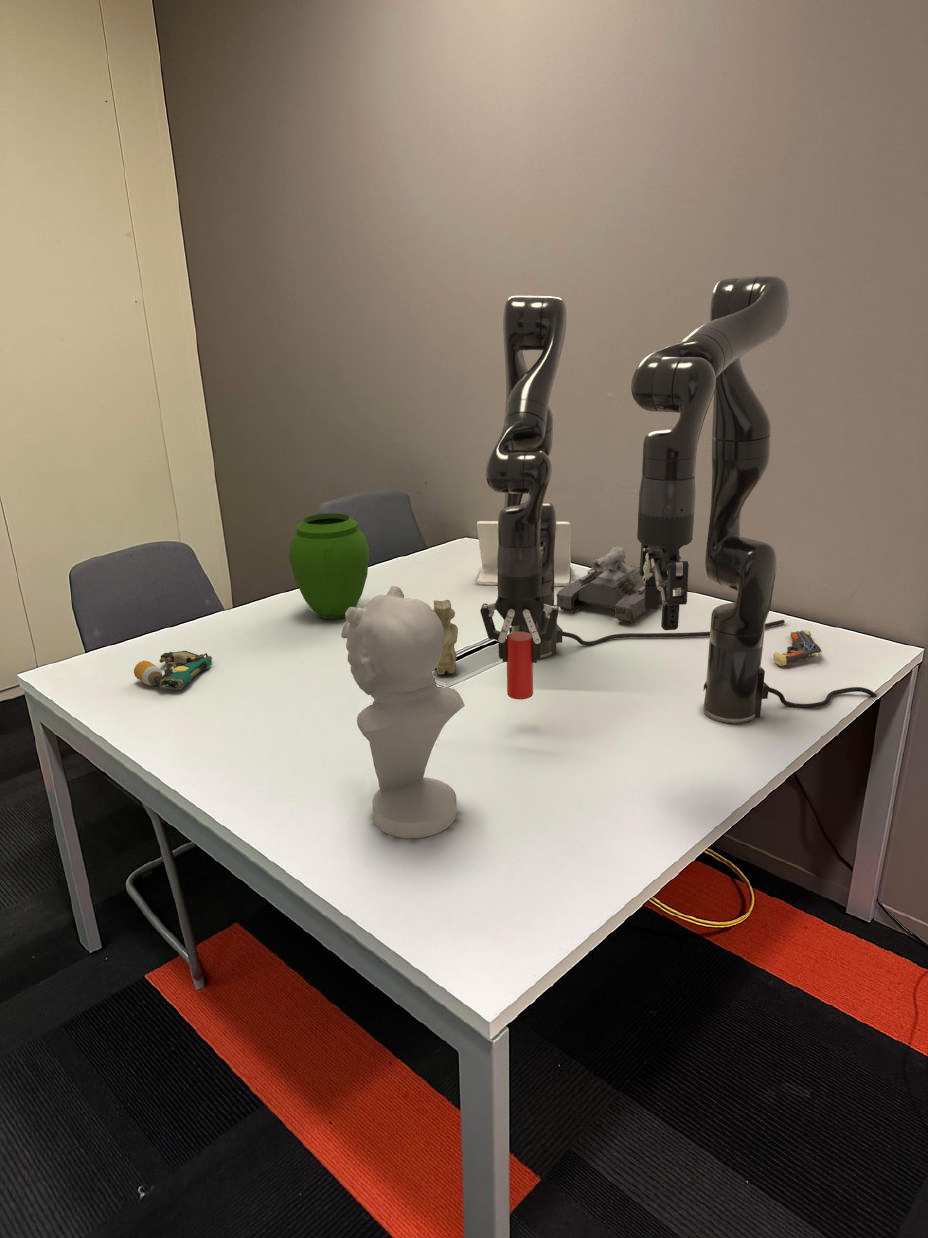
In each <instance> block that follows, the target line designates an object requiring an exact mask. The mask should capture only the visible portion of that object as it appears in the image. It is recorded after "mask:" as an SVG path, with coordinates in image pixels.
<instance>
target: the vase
mask: <svg viewBox="0 0 928 1238" xmlns="http://www.w3.org/2000/svg"><path fill="white" fill-rule="evenodd" d="M358 524H359V523H358V521H356V520H355V519H353V518H352V517H350V516H349V515H347V514H344V513H335V512H334V513H333V512H331V513H320V514H313V515H310V516H307V517H305V518H303V519H302V520H301V521H300V522H299V523H298V524H297V525H296V526H295V532H296V533H295V534H294V536H293V537H292V538H291V540H290V542H289V551H288V559H289V564H290V566H291V567H290V568H291V570H292V575H293V578H294V581H295V584H296V586H297V587H298V589H299V591H300V593H301V596H302V597H303V600H304V601H305V603H306V604H307V605H308V607H309V608H310V609H311V611H312V612H314V613H315V614H316V615H317V616H318V617H320V618H324V619H326V620H327V619H329V620H336V619H341V618H346V616H345V613H346V611H347V609H348V608H349V607H355V608H357V605H358V604H359V601H360V599H361V597H362V595H363V592H364V588H365V586H366V581H367V578H368V570H369V561H370V560H369V559H370V548H369V545H368V541H367V537H366V535H365V534H364V533H363V532H362V531H361V530H360V529H359V527H358Z"/></svg>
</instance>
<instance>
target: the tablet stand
mask: <svg viewBox="0 0 928 1238" xmlns="http://www.w3.org/2000/svg"><path fill="white" fill-rule="evenodd" d="M476 531H477V537H478V544H479V551H480V557H481V558H480V559H481V570H480V573H479V575H478V577H477V580H476V581H477V582H476V584H478V585H484V586H485V585H486V586H487V585H489V586H490V585H491V586H498V576H497V554H498V520H477V522H476ZM571 560H572V558H571V522H569V521H556V536H555V552H554V587H556V586H557V587H566V586H567V585H569V584H570V580H571V579H570V578H571V565H572V564H571Z"/></svg>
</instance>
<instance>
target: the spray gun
mask: <svg viewBox="0 0 928 1238" xmlns="http://www.w3.org/2000/svg"><path fill="white" fill-rule="evenodd" d="M212 660H213V657H212V656H211V655H208V653H207V652H205V653H201V654H197V653H194V652H192V651H191V652H190V651H188V650H180V651H169V652H164V653H162V654H161V655H160V658H159V660H158V662H159V663H161V664H163V663H165V664H166V668H165V670H163V672H164V674H163V673H162V669H160V668H159V666H157V665H156V664H154V663H152V662H151V661H149V660H141V661H139V662H138V663H136V665H135V666H134V668H133V675H134V677H135V678H136V679H137V680H139V681H140V682H142V683H143V684H145V685H147V686H155V685H157V686H158V687H160V688H161V689H171V690H172V689H173V690H182V689H184V687H185V686H186V685H188V684H189V683H190V682H191V681H192V679H193V678H195V677H196V676H197V675H198V674H200V673H201V672H202V671H203V670H206V669H208V668H209V667H210V666H211V665H212V662H213V661H212ZM178 663H179V664H181V665H179V666H176V665H177V664H178Z"/></svg>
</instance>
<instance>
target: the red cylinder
mask: <svg viewBox="0 0 928 1238" xmlns="http://www.w3.org/2000/svg"><path fill="white" fill-rule="evenodd" d="M506 639H507V662H506V695H507V696H508V697H509V698H510V699H512V700H518V701H519V700H520V701H521V700H527V699H530V698H532V697H533V696H534V663H533V656H532V644H533V638H532V635H531V634H530V633H527V632H513V633H512V632H511V633H510V634H509V633H508V634H507V636H506Z"/></svg>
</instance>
